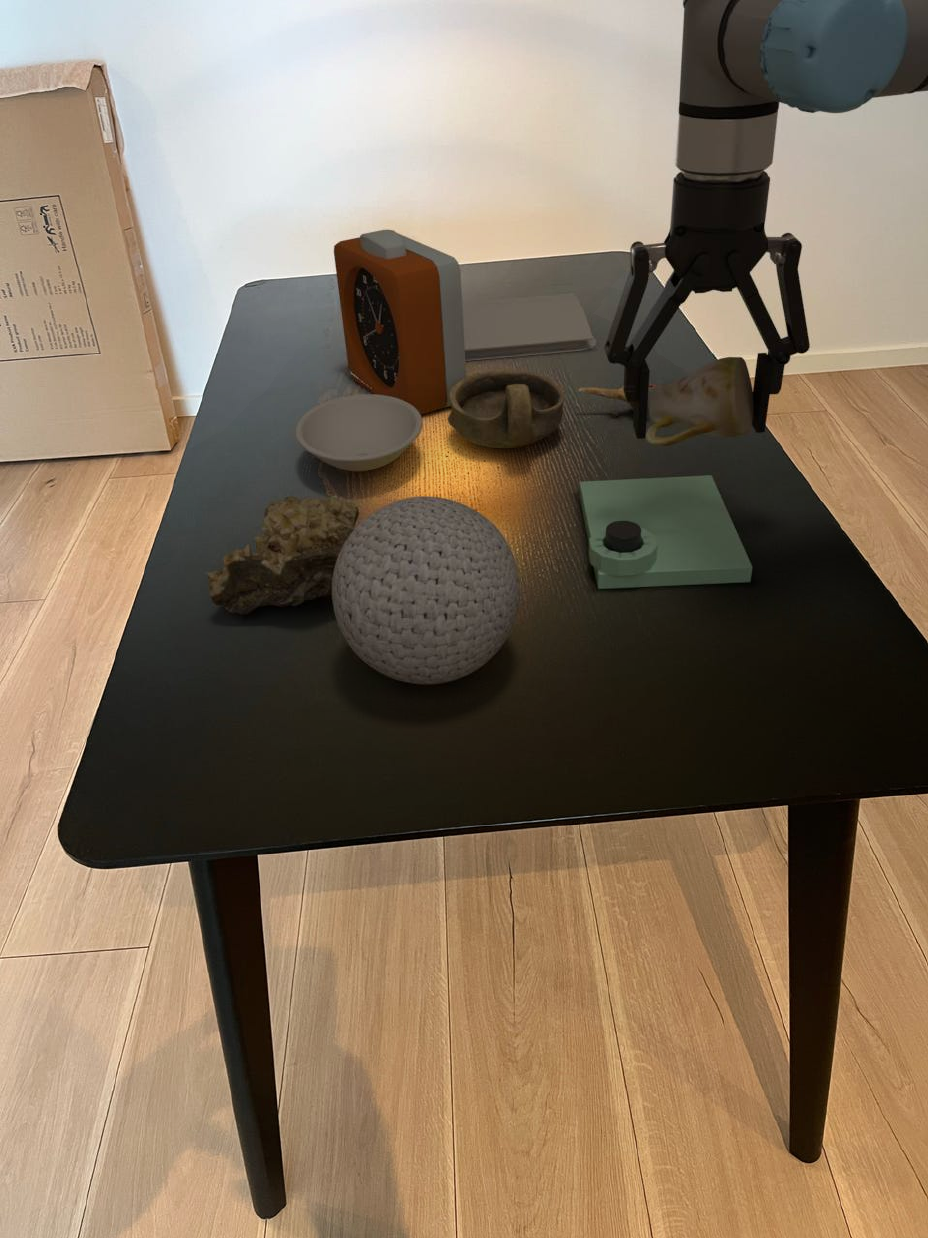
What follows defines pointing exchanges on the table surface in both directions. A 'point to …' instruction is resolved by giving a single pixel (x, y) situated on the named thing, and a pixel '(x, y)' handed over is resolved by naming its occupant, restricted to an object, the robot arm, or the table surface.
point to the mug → (703, 403)
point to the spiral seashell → (610, 394)
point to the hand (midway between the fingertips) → (698, 429)
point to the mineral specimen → (286, 556)
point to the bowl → (505, 408)
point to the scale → (663, 533)
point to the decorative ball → (425, 590)
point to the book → (525, 327)
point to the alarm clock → (401, 317)
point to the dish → (359, 430)
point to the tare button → (623, 536)
